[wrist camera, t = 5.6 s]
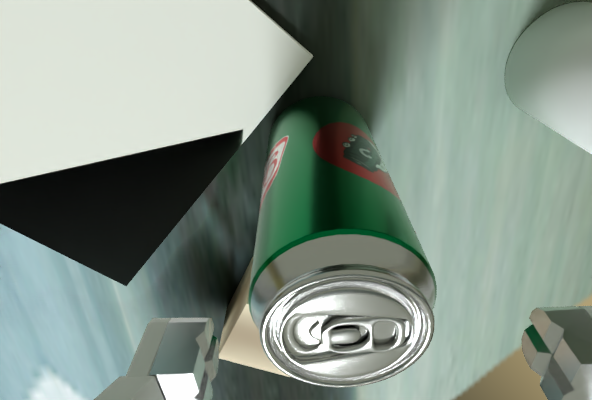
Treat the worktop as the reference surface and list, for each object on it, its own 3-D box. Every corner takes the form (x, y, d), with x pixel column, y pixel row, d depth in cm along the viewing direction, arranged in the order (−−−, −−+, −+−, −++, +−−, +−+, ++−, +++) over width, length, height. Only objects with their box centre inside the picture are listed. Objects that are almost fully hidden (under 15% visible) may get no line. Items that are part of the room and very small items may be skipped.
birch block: (294, 326, 27) (294, 378, 24) (227, 306, 26) (217, 357, 23) (325, 278, 25) (330, 329, 22) (253, 254, 24) (246, 303, 20)
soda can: (261, 98, 18) (225, 269, 8) (368, 87, 18) (463, 249, 8) (275, 188, 21) (260, 402, 11) (368, 180, 21) (440, 390, 11)
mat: (128, 281, 25) (126, 286, 24) (-217, 107, 18) (-227, 110, 18) (312, 54, 17) (312, 56, 17) (-157, -359, 11) (-170, -369, 11)
